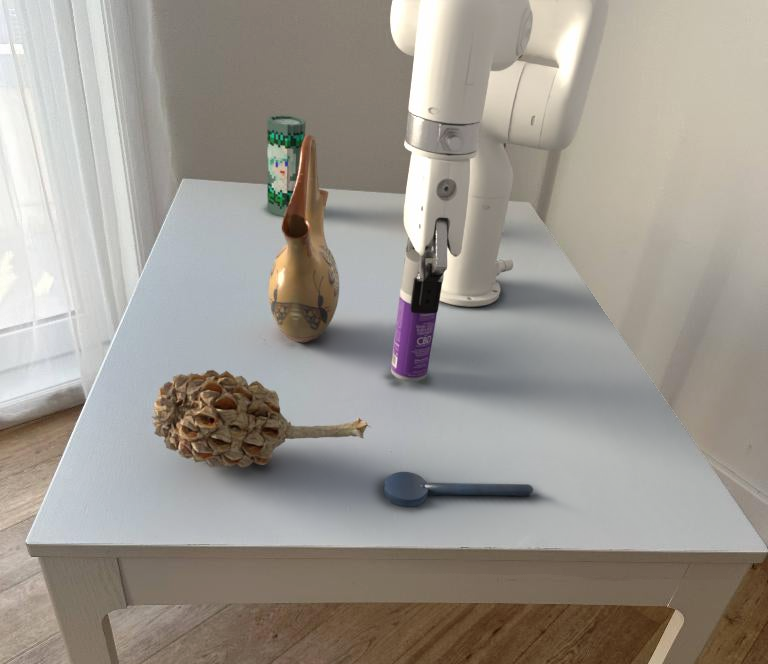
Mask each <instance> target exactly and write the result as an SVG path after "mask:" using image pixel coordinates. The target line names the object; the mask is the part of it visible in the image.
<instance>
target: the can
mask: <svg viewBox="0 0 768 664" xmlns="http://www.w3.org/2000/svg"><path fill="white" fill-rule="evenodd" d="M266 127H267V129H266V130H267V133H266V135H267V137H266V138H267V150H266V151H267V210H268V212H269V213H271V214H273V215H275V216H279V217H280V216H281V217H284V215H285V213H286V210H287V208H288V205H289V203H290V200H291V197H292V194H293V191H294V188H295V184H296V180H297V175H298V169H299V160H300V151H301V146H302V143H303V140H304V138H305V136H306V121H305V119H303V118H301V117H298V116H294V115H289V114H285V115H284V114H277V115H276V114H275V115H270V116H269V117H268V118H267V125H266Z"/></svg>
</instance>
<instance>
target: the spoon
mask: <svg viewBox="0 0 768 664" xmlns="http://www.w3.org/2000/svg"><path fill="white" fill-rule="evenodd" d="M533 492H534V487H533V486H532V485H531V484H527V483H525V484H523V483H520V484H519V483H466V482H465V483H463V482H427V481H426V479H425V478H424V477H422V476H421V475H419V474H417V473H414V472H410V471H397V472H393V473H391V474H389V475H388V476H387V477H386V478H385V479H384V484H383V494H384V496H385V498H386V499H387V500H388V501H389V502H390V503H392V504H394V505H396V506H399V507H405V508H412V507H418V506H419V505H421V504H424V503H425V501H426V500H427V498H428V495H449V496H450V495H452V496H453V495H457V496H458V495H459V496H461V495H462V496H465V495H466V496H514V497H515V496H519V497H522V496H523V497H524V496H525V497H528V496H531V495H532V494H533Z"/></svg>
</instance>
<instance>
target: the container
mask: <svg viewBox="0 0 768 664" xmlns="http://www.w3.org/2000/svg"><path fill="white" fill-rule="evenodd" d="M426 251H433V249H432V250H427V249H426ZM418 260H419V253H418V252H417V251H416V250H415V249H413V250H410V251H408V252H407V253H406V252H405V257H404V262H405V264H404V263H403V272H402V278H401V285H400V291H399V298H398V307H397V315H396V321H395V322H396V324H395V330H394V339H393V348H392V357H391V365H390V373H391V374H392V375H393V376H394V377H395V378H397V379H399V380H402V381H406V382H418V381H422V380H424V379H425V378H427V375H428V371H429V365H430V360H431V352H432V348H433V347H432V346H433V340H434V335H435V334H434V333H435V328H436V322H437V316H438V312H437V313H412V312H411V309H410V305H411V298H412V290H413V283H414V278H417V274H418ZM432 260H433V258H426V261H425V267H426V266H427V264H428V263H432Z"/></svg>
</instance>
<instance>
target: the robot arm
mask: <svg viewBox="0 0 768 664" xmlns="http://www.w3.org/2000/svg"><path fill="white" fill-rule="evenodd" d="M608 13H609V0H392V2H391V7H390V18H389V19H390V20H389V21H390V33H391V37H392V40H393V42H394V44H395V45H396V47H397V48H398V49H399V50H400V51H401V52H402V53H404V54H405V55H408V56H410V57H413V66H412V73H411V83H410V92H409V99H408V101H409V102H408V109H407V110H408V112H407V118H406V125H405V126H406V128H405V135H404V136H405V137H404V147H405V149H406V150H408V151H409V152H411V155H410V158H409V159H410V162H409V167H408V174H407V182H406V187H405V189H406V190H405V195H404V204H403V205H404V206H403V226H404V230H405V232H406V234H407V236H408V238H407V241H406V242H407V243H406V247H405V254H406V253H407V252H408V251H410V250H413V249H415V250H416V251H417V252H418V253H419V260H418V274H417V278H414V283H413V290H412V298H411V305H410V309H411V312H412V313H437V314H438V311H439V307H440V302H442V303H444V304H448V305H452V306H457V307H468V308H471V307H473V308H474V307H475V308H476V307H483V306H487V305H490V304H493V303H494V302H496V301H498V299H499V298H500V294H501V285H500V283H499V282H498V281H497V277H498V276H499V275H500V274H501V273H505V272H509V271H511V270H512V269H513V268H514V261H513V259H512V258H510V257H507V258H502V259H499V260H498V255H499V250H500V247H501V246H500V245H501V240H502V235H503V231H504V226H505V221H506V216H507V212H508V208H509V202H510V197H511V194H512V193H511V192H512V188H513V183H514V182H513V181H514V173H513V166H512V164H511V161H510V159H509V156H508V153H507V152H506V149H505V147H504V144H507V145H515V146H521V147H525V148H526V147H527V148H532V149H537V150H542V151H550V152H559V151H563V150H566V149H567V148H568V147H569V146H570V145H571V143H572V142H573V141H574V139H575V138H576V134H577V132H578V129H579V127H580V124H581V121H582V116H583V113H584V110H585V106H586V103H587V100H588V99H587V98H588V94H589V90H590V88H591V87H590V86H591V83H592V78H593V77H594V72H595V68H596V64H597V60H598V57H599V53H600V49H601V45H602V42H603V38H604V33H605V29H606V24H607V19H608ZM521 56H527V57H533V58H537V59H538V58H539V59H544V60H545V59H546V60H549V61H554V62H556V64H557V65H558V67H555V66H549V65H544V64H538V63H532V62H528V61H523V60H518V59H519V58H520V57H521ZM426 249H427V250H432V251H426ZM426 258H433V260H432V263H428V264H427V266H426V267H425V261H426ZM404 264H405V261H404V263H403V265H404Z"/></svg>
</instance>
